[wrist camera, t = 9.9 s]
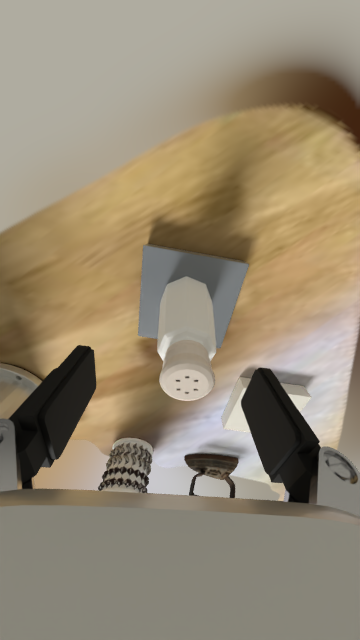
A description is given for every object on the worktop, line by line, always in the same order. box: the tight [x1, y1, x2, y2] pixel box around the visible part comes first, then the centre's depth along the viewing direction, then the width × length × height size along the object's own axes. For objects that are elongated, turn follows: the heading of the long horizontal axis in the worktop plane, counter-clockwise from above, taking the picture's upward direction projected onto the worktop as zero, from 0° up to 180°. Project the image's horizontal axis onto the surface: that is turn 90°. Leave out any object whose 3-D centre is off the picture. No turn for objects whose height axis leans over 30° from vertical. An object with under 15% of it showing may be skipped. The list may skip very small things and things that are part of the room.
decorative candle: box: [98, 437, 153, 493], centre depth 25 cm, size 9×9×25 cm
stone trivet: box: [221, 377, 311, 432], centre depth 28 cm, size 10×10×2 cm
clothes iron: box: [185, 454, 238, 498], centre depth 35 cm, size 7×11×10 cm, turn 72°
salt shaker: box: [157, 276, 216, 401], centre depth 13 cm, size 5×5×11 cm
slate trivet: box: [138, 244, 249, 348], centre depth 19 cm, size 10×10×2 cm
